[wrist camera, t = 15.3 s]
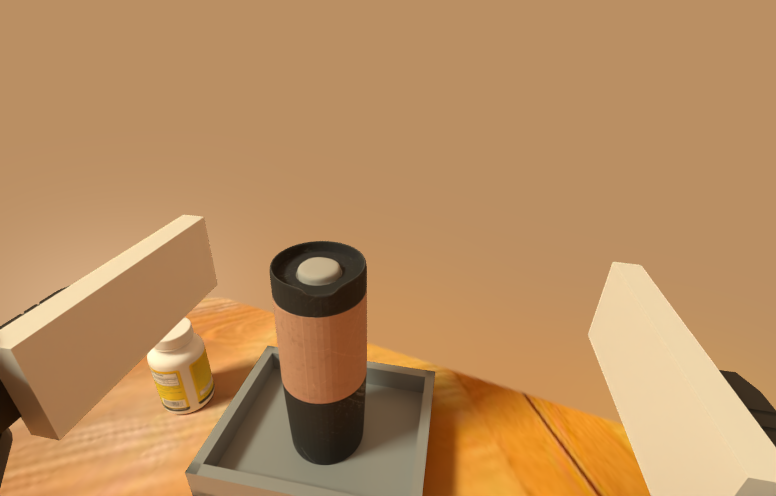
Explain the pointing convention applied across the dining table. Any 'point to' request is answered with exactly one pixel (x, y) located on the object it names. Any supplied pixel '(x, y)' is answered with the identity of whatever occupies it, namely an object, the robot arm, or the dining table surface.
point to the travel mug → (322, 346)
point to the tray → (293, 473)
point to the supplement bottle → (182, 370)
